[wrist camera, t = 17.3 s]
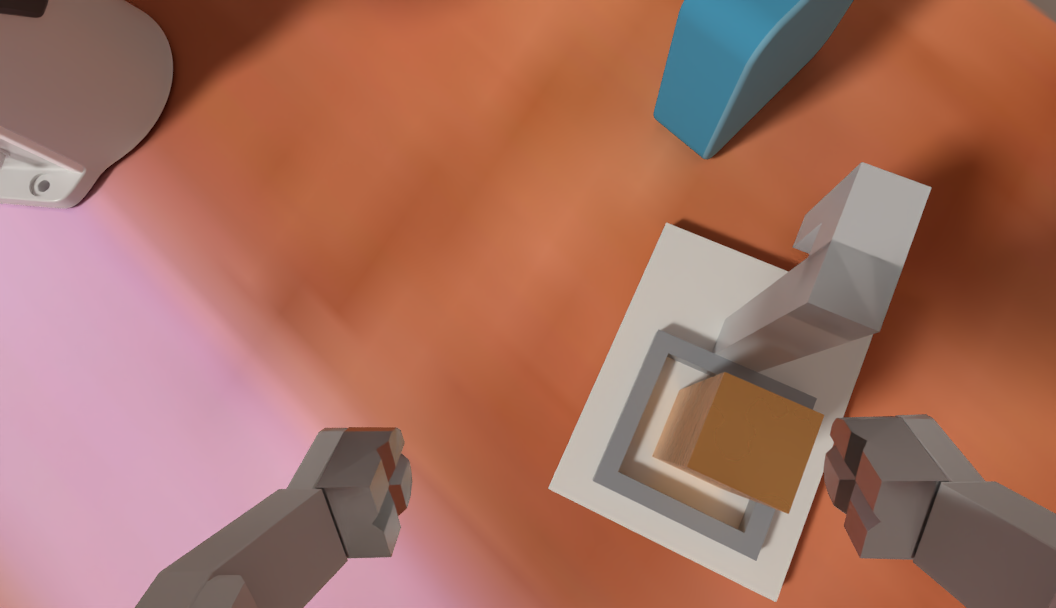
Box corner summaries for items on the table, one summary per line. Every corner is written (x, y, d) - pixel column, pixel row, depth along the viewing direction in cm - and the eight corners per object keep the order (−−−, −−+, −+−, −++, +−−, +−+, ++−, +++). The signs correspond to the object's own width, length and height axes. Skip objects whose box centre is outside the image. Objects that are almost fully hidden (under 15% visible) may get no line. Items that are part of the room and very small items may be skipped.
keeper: (766, 594, 31) (947, 744, 16) (549, 486, 33) (529, 529, 18) (868, 314, 34) (1103, 220, 19) (662, 231, 36) (726, 86, 21)
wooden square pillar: (721, 488, 31) (788, 514, 21) (652, 456, 32) (686, 466, 22) (747, 420, 32) (824, 415, 22) (679, 390, 33) (724, 371, 23)
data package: (770, 8, 39) (854, -173, 27) (823, 47, 38) (934, -123, 26) (648, 126, 38) (682, -11, 26) (701, 169, 37) (760, 47, 25)
